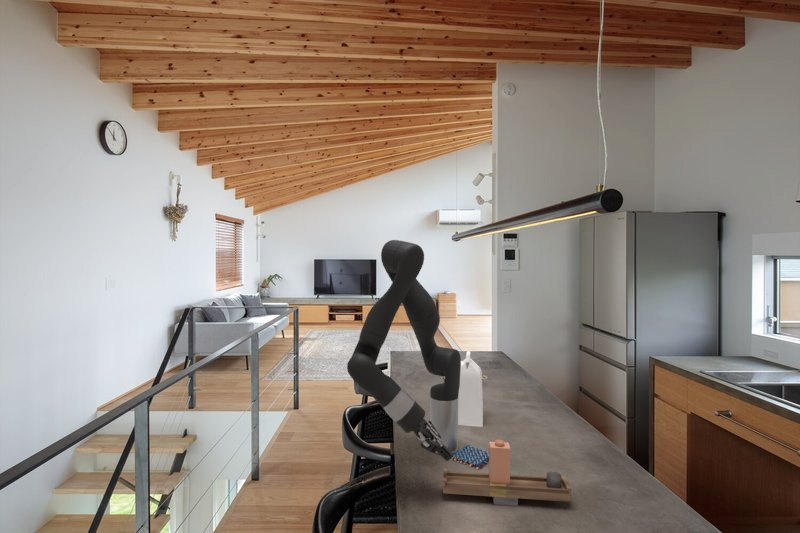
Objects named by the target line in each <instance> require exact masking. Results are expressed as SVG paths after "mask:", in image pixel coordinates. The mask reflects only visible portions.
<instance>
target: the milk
mask: <svg viewBox="0 0 800 533" xmlns="http://www.w3.org/2000/svg"><path fill="white" fill-rule="evenodd" d="M482 372H483V370H482V368H481V366H479V365H478V363H476V362H475V361H474V360H473V359H472V358H471V350H470V351H469V350H467V351H466V354H465V358H464V359H463V360H461V370H460V387H459V393H458V426H467V427H468V426H469V427H479V428H483V426H484V406H483V405H484V404H483V401H484V399H483V373H482Z"/></svg>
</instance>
